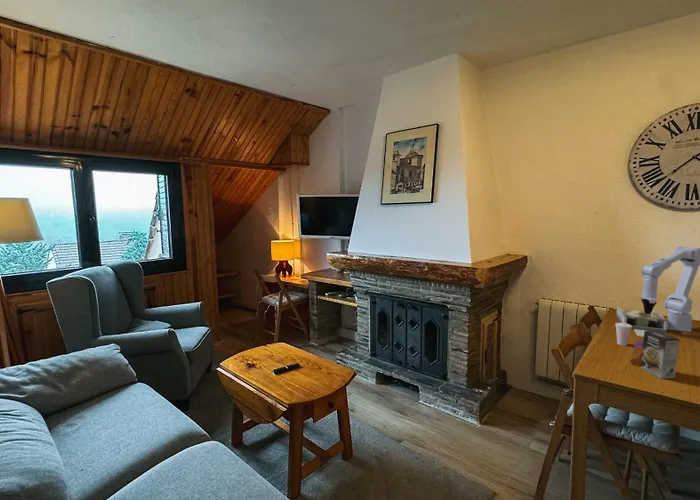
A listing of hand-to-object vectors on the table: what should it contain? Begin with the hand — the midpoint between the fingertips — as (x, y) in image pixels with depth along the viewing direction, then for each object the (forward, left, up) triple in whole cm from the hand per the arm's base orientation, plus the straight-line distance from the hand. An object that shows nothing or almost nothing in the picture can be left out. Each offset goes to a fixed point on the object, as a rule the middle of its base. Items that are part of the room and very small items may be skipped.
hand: (647, 313), depth 188 cm
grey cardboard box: (+7, +56, -10) cm, 57 cm away
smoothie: (+14, +26, -10) cm, 31 cm away
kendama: (+10, +42, -10) cm, 45 cm away
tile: (0, +5, -10) cm, 11 cm away
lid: (0, -11, -4) cm, 12 cm away
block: (0, -11, -10) cm, 15 cm away
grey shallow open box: (0, -14, -10) cm, 18 cm away
